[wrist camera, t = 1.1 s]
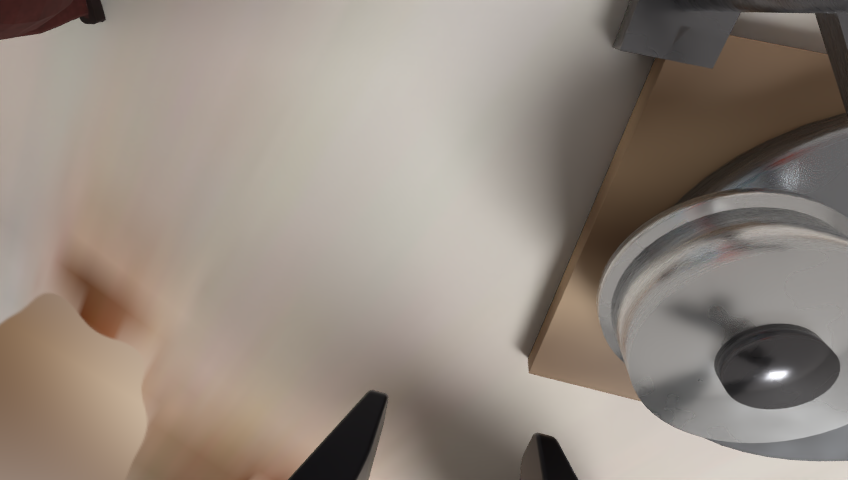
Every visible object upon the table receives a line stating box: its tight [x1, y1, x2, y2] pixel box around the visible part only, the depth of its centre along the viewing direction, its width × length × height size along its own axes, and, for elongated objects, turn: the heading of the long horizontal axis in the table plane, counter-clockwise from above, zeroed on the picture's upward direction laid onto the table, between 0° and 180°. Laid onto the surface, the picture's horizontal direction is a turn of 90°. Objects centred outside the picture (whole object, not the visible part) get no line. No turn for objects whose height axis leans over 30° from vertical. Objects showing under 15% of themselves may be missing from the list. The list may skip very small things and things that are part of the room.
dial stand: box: [613, 0, 848, 118], centre depth 10 cm, size 5×5×9 cm
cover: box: [596, 188, 848, 443], centre depth 13 cm, size 8×8×4 cm
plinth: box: [528, 26, 846, 401], centre depth 17 cm, size 16×19×1 cm
